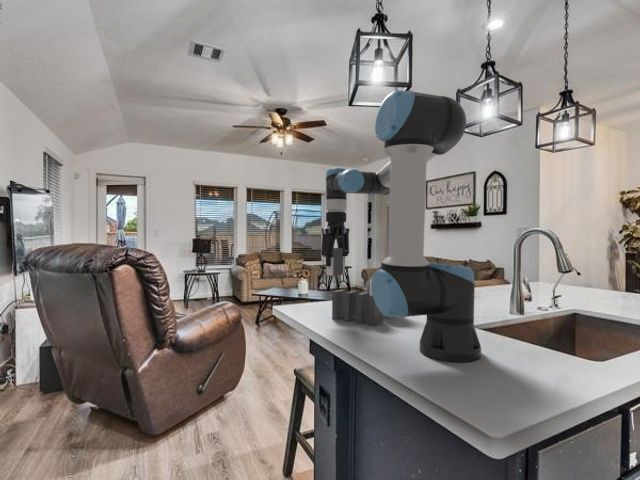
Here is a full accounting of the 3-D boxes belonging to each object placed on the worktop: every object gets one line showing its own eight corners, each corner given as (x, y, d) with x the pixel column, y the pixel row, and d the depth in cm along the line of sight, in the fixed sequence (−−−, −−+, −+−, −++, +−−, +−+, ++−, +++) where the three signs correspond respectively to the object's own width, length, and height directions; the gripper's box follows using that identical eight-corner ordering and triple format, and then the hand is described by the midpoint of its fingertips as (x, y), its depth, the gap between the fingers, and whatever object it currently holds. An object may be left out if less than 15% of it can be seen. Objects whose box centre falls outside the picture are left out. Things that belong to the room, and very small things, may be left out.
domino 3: (357, 318, 133) (357, 291, 133) (348, 321, 128) (348, 293, 128) (352, 317, 134) (352, 290, 134) (343, 321, 129) (344, 292, 129)
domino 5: (382, 322, 127) (382, 293, 127) (374, 326, 122) (374, 296, 122) (377, 321, 128) (377, 293, 128) (369, 325, 123) (369, 295, 123)
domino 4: (369, 320, 130) (369, 292, 130) (361, 324, 125) (361, 294, 125) (364, 319, 131) (364, 291, 131) (356, 323, 126) (356, 294, 126)
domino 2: (345, 316, 136) (345, 289, 135) (336, 319, 131) (336, 292, 131) (341, 316, 137) (341, 289, 137) (332, 319, 132) (332, 291, 132)
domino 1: (342, 274, 136) (342, 247, 136) (332, 276, 132) (332, 248, 131) (338, 274, 137) (338, 247, 137) (328, 275, 133) (328, 248, 132)
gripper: (343, 212, 143) (343, 271, 144) (311, 210, 129) (310, 276, 130) (359, 212, 138) (358, 273, 139) (327, 210, 124) (326, 278, 125)
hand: (335, 274), depth 135 cm, fingers closed on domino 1, 6 cm apart
